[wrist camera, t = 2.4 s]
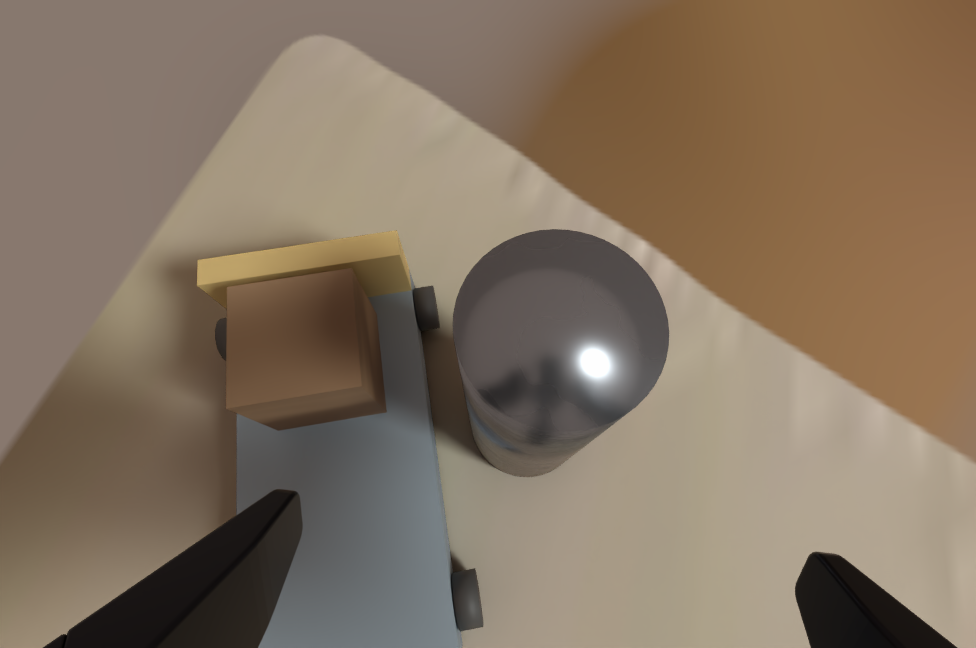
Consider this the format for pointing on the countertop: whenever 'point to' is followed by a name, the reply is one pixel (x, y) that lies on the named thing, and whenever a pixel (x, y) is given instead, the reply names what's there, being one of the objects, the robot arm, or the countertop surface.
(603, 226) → the countertop surface
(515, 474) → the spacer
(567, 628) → the countertop surface
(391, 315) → the cart
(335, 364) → the collected block
